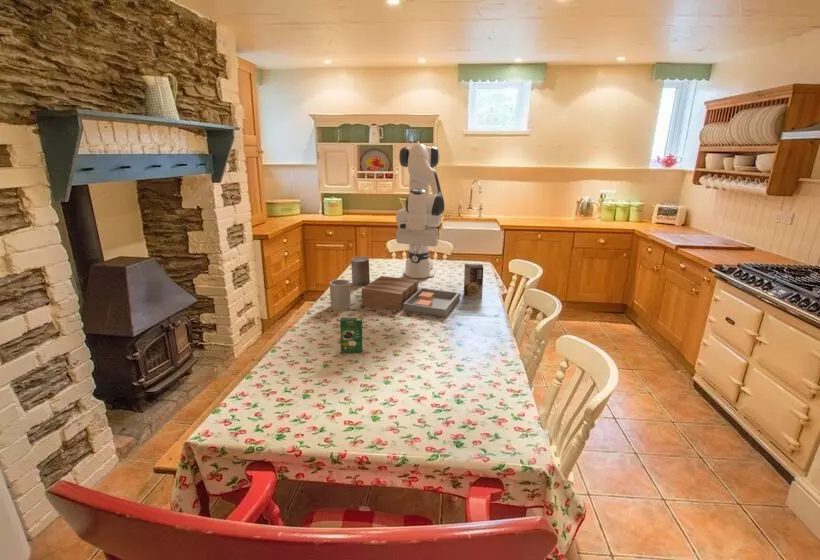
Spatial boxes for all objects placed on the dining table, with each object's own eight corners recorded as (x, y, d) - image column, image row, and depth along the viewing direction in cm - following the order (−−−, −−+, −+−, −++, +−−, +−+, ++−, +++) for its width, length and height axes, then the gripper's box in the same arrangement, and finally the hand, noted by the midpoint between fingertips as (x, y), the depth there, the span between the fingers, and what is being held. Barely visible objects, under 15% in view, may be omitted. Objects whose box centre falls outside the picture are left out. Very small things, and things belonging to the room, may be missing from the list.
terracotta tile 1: (432, 301, 196) (432, 306, 197) (420, 299, 198) (420, 304, 199) (428, 305, 191) (427, 310, 192) (415, 303, 193) (415, 308, 194)
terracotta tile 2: (434, 293, 207) (434, 298, 207) (422, 291, 209) (422, 296, 210) (430, 297, 201) (430, 302, 202) (418, 295, 203) (418, 300, 204)
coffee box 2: (481, 294, 215) (483, 264, 210) (482, 299, 209) (483, 267, 204) (463, 294, 216) (464, 263, 211) (463, 298, 210) (464, 267, 205)
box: (421, 295, 214) (421, 287, 213) (459, 300, 207) (459, 292, 206) (403, 311, 193) (403, 303, 192) (445, 318, 186) (445, 309, 185)
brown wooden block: (381, 290, 221) (381, 275, 218) (417, 295, 214) (417, 280, 211) (362, 304, 201) (361, 288, 199) (400, 310, 194) (400, 294, 192)
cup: (346, 310, 194) (345, 286, 190) (328, 309, 195) (326, 284, 192) (353, 303, 202) (352, 280, 199) (335, 302, 204) (334, 278, 200)
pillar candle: (371, 280, 237) (370, 254, 232) (368, 286, 227) (366, 259, 223) (354, 280, 238) (352, 254, 233) (350, 285, 228) (348, 258, 224)
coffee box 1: (363, 349, 157) (362, 316, 153) (363, 353, 155) (362, 319, 151) (341, 349, 157) (339, 317, 153) (340, 353, 154) (339, 320, 150)
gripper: (440, 225, 196) (439, 254, 200) (399, 222, 203) (400, 250, 208) (436, 227, 191) (435, 257, 195) (394, 224, 198) (394, 253, 202)
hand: (417, 253), depth 201 cm, fingers closed
